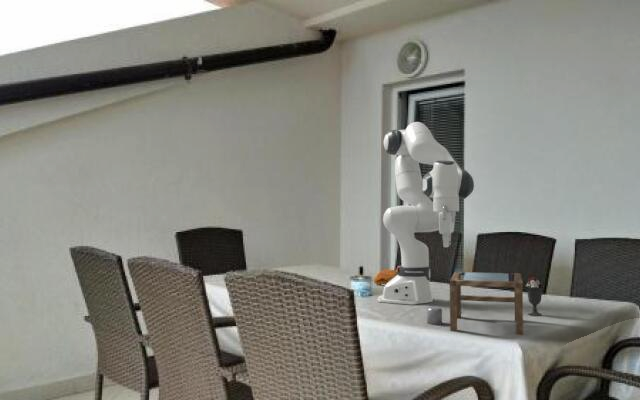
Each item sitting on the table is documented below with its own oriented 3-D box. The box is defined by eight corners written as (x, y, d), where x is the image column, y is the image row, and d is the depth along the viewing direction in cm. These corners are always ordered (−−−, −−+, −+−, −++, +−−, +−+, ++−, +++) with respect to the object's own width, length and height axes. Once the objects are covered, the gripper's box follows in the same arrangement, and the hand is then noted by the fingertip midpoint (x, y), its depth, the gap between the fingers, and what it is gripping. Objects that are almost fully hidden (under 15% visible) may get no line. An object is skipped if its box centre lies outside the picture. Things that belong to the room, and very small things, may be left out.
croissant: (382, 285, 299) (380, 269, 300) (410, 283, 291) (408, 267, 291) (368, 288, 288) (366, 272, 288) (396, 286, 279) (394, 269, 280)
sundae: (521, 313, 215) (521, 271, 215) (539, 312, 216) (539, 271, 215) (529, 316, 208) (529, 274, 208) (548, 316, 209) (547, 273, 209)
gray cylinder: (426, 324, 199) (426, 309, 199) (428, 321, 204) (427, 306, 204) (441, 325, 197) (441, 310, 197) (442, 322, 202) (442, 307, 202)
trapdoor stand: (450, 330, 189) (449, 279, 189) (455, 316, 210) (454, 270, 210) (523, 334, 183) (522, 281, 183) (520, 319, 204) (520, 271, 204)
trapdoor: (463, 287, 191) (463, 279, 191) (466, 277, 208) (466, 270, 208) (508, 289, 187) (508, 281, 187) (508, 278, 204) (508, 271, 203)
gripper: (453, 206, 195) (454, 248, 195) (457, 206, 215) (457, 244, 214) (434, 206, 197) (435, 248, 197) (439, 207, 217) (440, 245, 216)
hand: (447, 246), depth 206 cm, fingers open, 8 cm apart
